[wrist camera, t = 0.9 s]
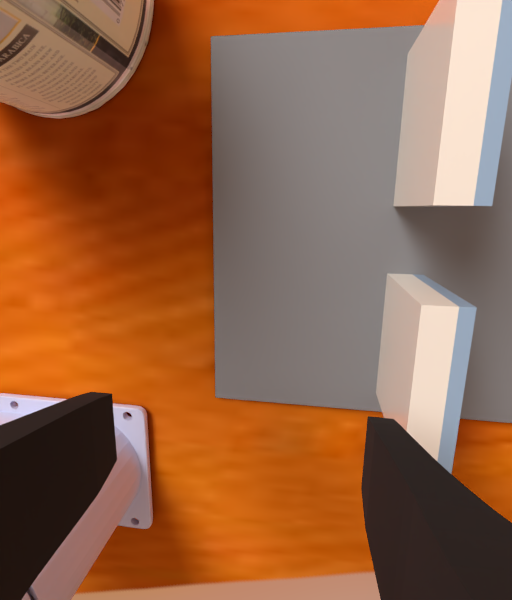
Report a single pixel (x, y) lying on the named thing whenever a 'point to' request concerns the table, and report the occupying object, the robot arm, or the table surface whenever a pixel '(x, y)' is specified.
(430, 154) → the tile
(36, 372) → the table surface
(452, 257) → the mat
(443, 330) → the tile
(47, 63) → the coffee can
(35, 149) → the table surface
